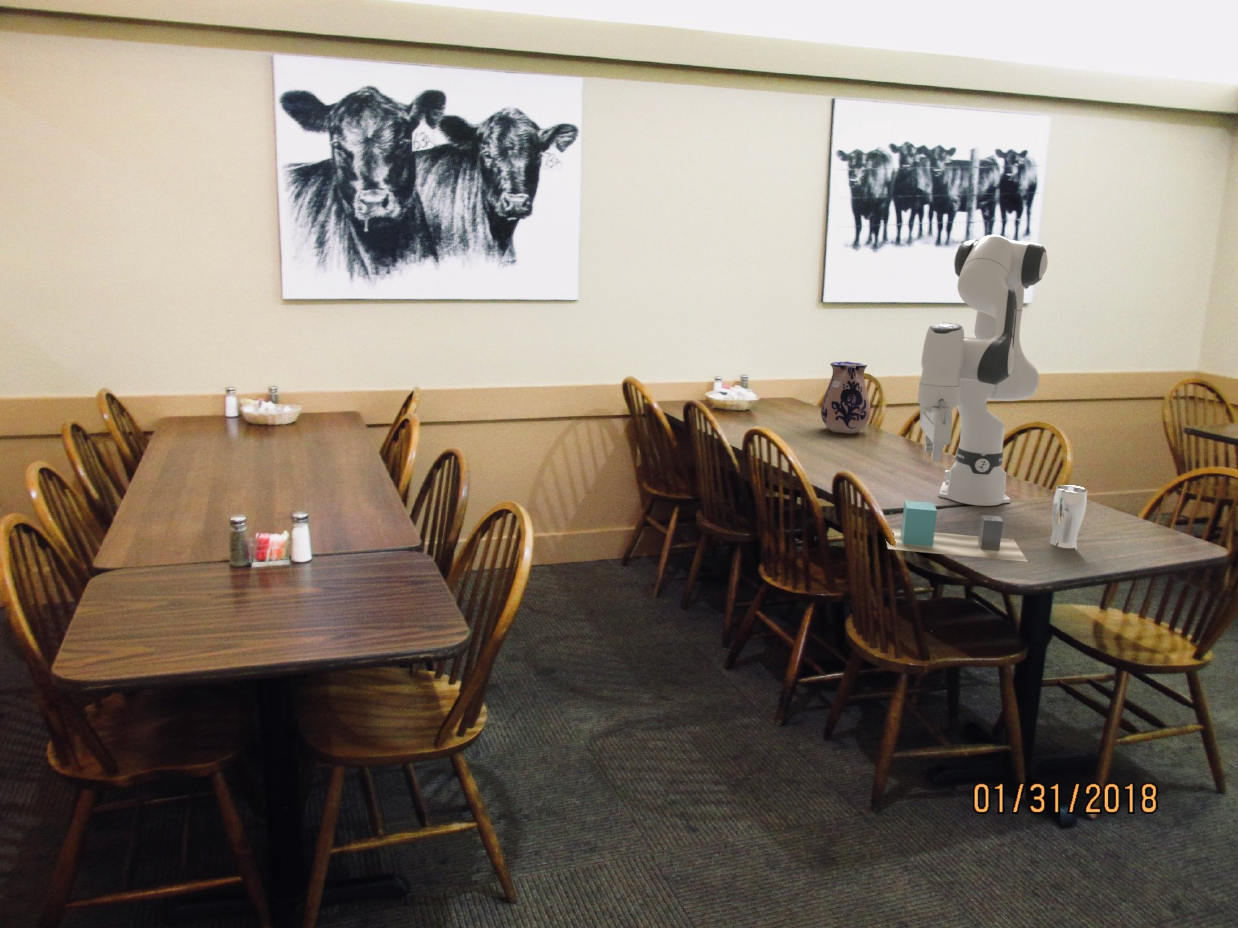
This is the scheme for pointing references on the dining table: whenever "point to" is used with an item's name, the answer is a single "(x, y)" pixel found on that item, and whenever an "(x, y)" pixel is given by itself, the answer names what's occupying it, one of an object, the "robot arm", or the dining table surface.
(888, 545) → the birch board
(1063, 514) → the beer glass
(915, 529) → the turquoise rectangular block
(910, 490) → the dining table surface
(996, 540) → the steel post
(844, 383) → the ceramic pitcher
